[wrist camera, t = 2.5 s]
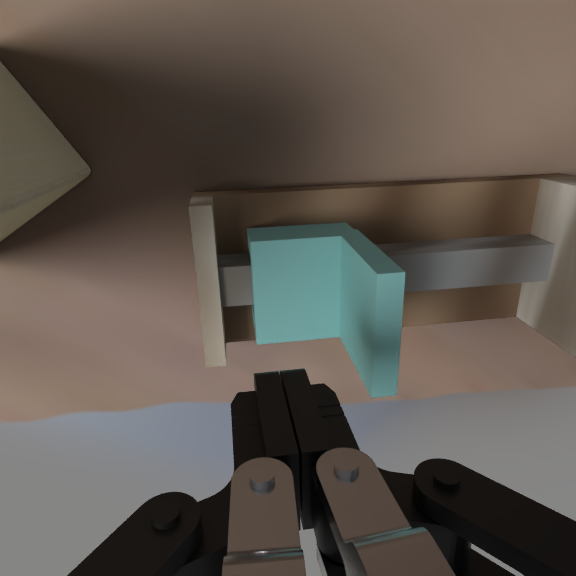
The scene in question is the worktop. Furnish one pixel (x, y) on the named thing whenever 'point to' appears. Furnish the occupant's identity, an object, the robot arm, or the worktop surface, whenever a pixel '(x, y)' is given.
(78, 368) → the worktop surface
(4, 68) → the toy refrigerator
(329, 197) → the track
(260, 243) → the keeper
